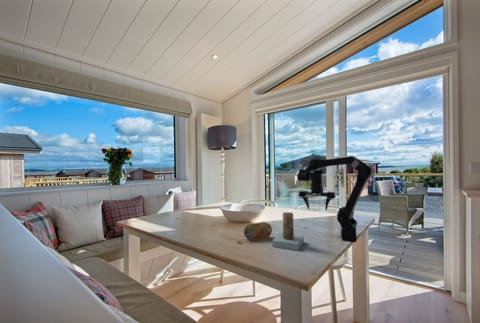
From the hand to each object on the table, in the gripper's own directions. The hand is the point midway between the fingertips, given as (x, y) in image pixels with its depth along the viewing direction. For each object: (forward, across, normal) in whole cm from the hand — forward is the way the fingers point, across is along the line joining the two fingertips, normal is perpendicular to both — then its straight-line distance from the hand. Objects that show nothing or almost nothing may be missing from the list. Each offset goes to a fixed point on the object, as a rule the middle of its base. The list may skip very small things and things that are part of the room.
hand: (317, 209), depth 128 cm
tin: (+13, +27, +21) cm, 37 cm away
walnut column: (+10, +10, +23) cm, 27 cm away
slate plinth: (+13, +10, +23) cm, 28 cm away
